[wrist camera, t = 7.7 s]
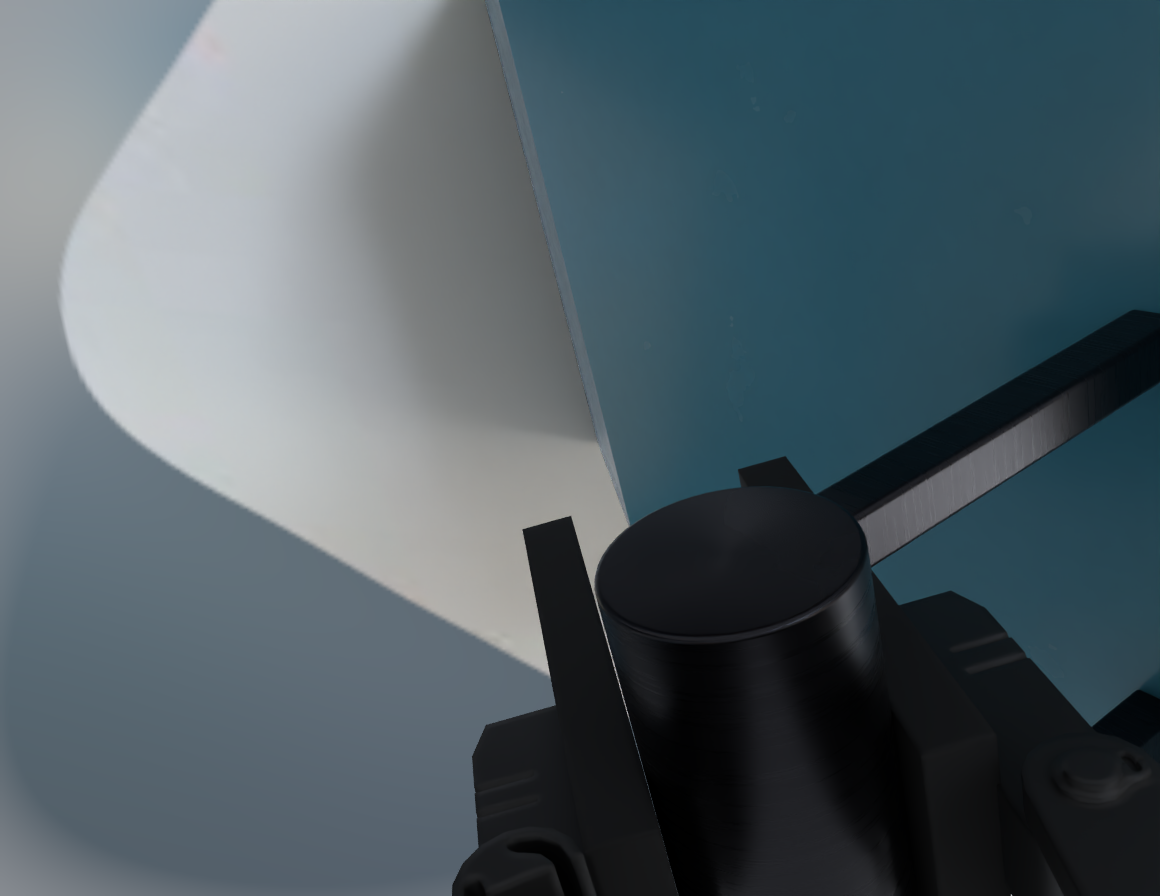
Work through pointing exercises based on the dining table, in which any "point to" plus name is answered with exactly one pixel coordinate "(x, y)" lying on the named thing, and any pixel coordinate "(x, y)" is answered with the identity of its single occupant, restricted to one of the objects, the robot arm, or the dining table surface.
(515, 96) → the box
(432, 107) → the dining table surface
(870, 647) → the freezer lid
